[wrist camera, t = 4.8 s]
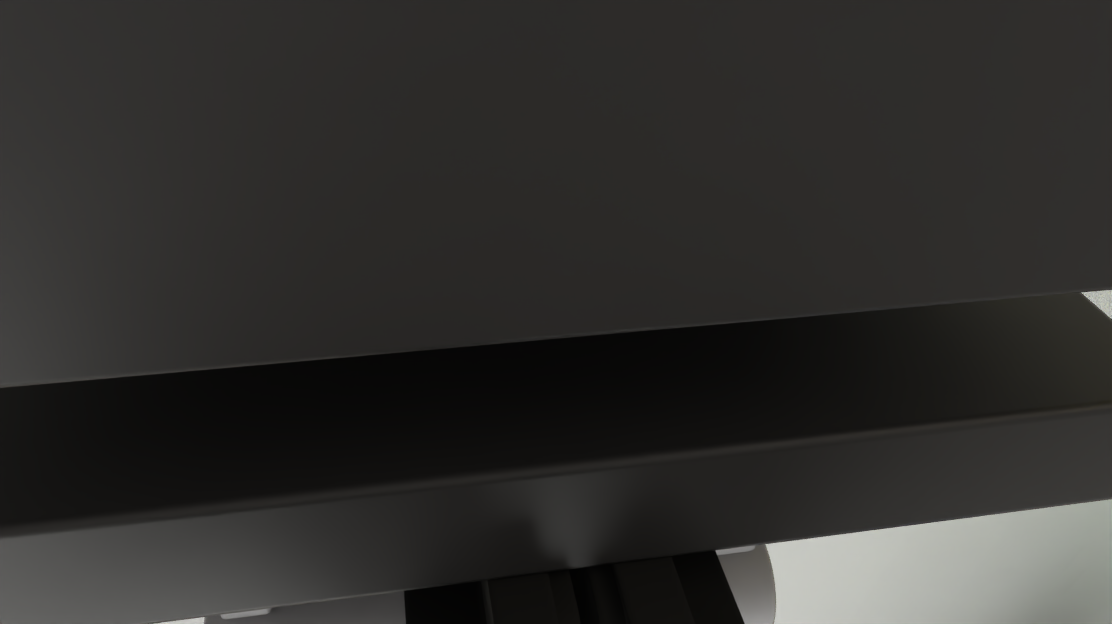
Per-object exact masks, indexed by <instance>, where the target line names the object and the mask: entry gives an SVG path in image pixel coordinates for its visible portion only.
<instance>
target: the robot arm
mask: <svg viewBox="0 0 1112 624" xmlns="http://www.w3.org/2000/svg"><path fill="white" fill-rule="evenodd" d="M404 601H405V618H406V624H745V623H744V621H743V618H742V616H741V613H740V611H739V608H738V606H737V603H736V601H735V598H734V596H733V593H732V591H731V588H730V586H729V583H728V581H727V578H726V576H725V573H724V571H723V568H722V566H721V563H720V561H719V559H718V556H717V554H716V551H708V552H700V553H692V554H684V555H677V556H669V557H661V558H654V559H646V560H638V561H631V562H623V563H615V564H607V565H600V566H592V567H584V568H577V569H569V570H561V571H554V572H546V573H538V574H530V575H523V576H515V577H507V578H500V579H492V580H484V581H476V582H469V583H461V584H453V585H446V586H438V587H430V588H423V589H415V590H407V591H404Z"/></svg>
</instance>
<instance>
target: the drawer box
mask: <svg viewBox="0 0 1112 624" xmlns="http://www.w3.org/2000/svg"><path fill="white" fill-rule="evenodd" d="M1102 290H1112V0H0V388H6V387H17V386H29V385H40V384H51V383H62V382H74V381H85V380H96V379H108V378H119V377H130V376H142V375H153V374H164V373H175V372H187V371H198V370H209V369H221V368H232V367H243V366H254V365H266V364H277V363H288V362H300V361H311V360H322V359H334V358H345V357H356V356H367V355H379V354H390V353H401V352H413V351H424V350H435V349H447V348H458V347H469V346H480V345H492V344H503V343H514V342H526V341H537V340H548V339H559V338H571V337H582V336H593V335H605V334H616V333H627V332H639V331H650V330H661V329H672V328H684V327H695V326H706V325H718V324H729V323H740V322H751V321H763V320H774V319H785V318H797V317H808V316H819V315H831V314H842V313H853V312H864V311H876V310H887V309H898V308H910V307H921V306H932V305H943V304H955V303H966V302H977V301H989V300H1000V299H1011V298H1023V297H1034V296H1045V295H1056V294H1068V293H1079V292H1090V291H1102Z"/></svg>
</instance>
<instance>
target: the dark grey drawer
mask: <svg viewBox="0 0 1112 624" xmlns="http://www.w3.org/2000/svg"><path fill="white" fill-rule="evenodd" d="M1108 499H1112V319H1111V318H1110V317H1108V316H1107V315H1106V314H1105V313H1104V312H1103V311H1101V310H1100V309H1099V308H1098V307H1097V306H1096V305H1095V304H1093V303H1092V302H1091V301H1090V300H1089V299H1088V298H1086V297H1085V296H1084V295H1083V294H1082V293H1081V292H1079V293H1068V294H1056V295H1045V296H1034V297H1023V298H1011V299H1000V300H989V301H977V302H966V303H955V304H943V305H932V306H921V307H910V308H898V309H887V310H876V311H864V312H853V313H842V314H831V315H819V316H808V317H797V318H785V319H774V320H763V321H751V322H740V323H729V324H718V325H706V326H695V327H684V328H672V329H661V330H650V331H639V332H627V333H616V334H605V335H593V336H582V337H571V338H559V339H548V340H537V341H526V342H514V343H503V344H492V345H480V346H469V347H458V348H447V349H435V350H424V351H413V352H401V353H390V354H379V355H367V356H356V357H345V358H334V359H322V360H311V361H300V362H288V363H277V364H266V365H254V366H243V367H232V368H221V369H209V370H198V371H187V372H175V373H164V374H153V375H142V376H130V377H119V378H108V379H96V380H85V381H74V382H62V383H51V384H40V385H29V386H17V387H6V388H0V624H153V623H161V622H168V621H176V620H184V619H191V618H199V617H205V618H204V624H406V618H405V601H404V591H407V590H415V589H423V588H430V587H438V586H446V585H453V584H461V583H469V582H476V581H484V580H492V579H500V578H507V577H515V576H523V575H530V574H538V573H546V572H554V571H561V570H569V569H577V568H584V567H592V566H600V565H607V564H615V563H623V562H631V561H638V560H646V559H654V558H661V557H669V556H677V555H684V554H692V553H700V552H708V551H716V554H717V556H718V559H719V561H720V563H721V566H722V568H723V571H724V573H725V576H726V578H727V581H728V583H729V586H730V588H731V591H732V593H733V596H734V598H735V601H736V603H737V606H738V608H739V611H740V613H741V616H742V618H743V621H744V623H745V624H774V619H775V612H776V592H775V582H774V575H773V570H772V565H771V561H770V557H769V554H768V551H767V548H766V545H765V544H769V543H777V542H785V541H792V540H800V539H808V538H815V537H823V536H831V535H839V534H846V533H854V532H862V531H869V530H877V529H885V528H893V527H900V526H908V525H916V524H923V523H931V522H939V521H946V520H954V519H962V518H970V517H977V516H985V515H993V514H1000V513H1008V512H1016V511H1023V510H1031V509H1039V508H1047V507H1054V506H1062V505H1070V504H1077V503H1085V502H1093V501H1101V500H1108Z"/></svg>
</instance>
